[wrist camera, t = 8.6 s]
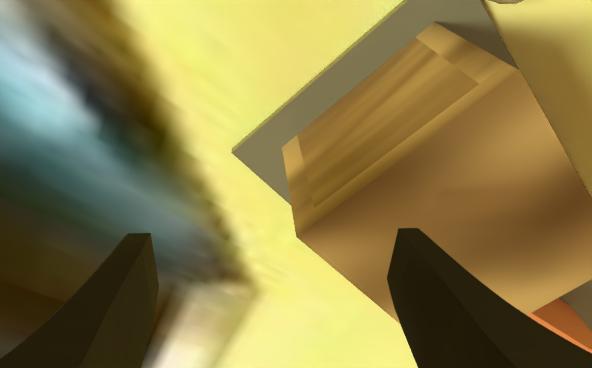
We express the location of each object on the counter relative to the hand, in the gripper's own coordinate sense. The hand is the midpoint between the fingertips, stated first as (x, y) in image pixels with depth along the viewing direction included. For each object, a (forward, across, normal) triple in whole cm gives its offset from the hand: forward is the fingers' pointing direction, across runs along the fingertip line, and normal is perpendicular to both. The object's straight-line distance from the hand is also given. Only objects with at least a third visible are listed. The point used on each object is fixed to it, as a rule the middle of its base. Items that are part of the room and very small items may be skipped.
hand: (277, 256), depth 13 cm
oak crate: (+10, -8, +2) cm, 13 cm away
